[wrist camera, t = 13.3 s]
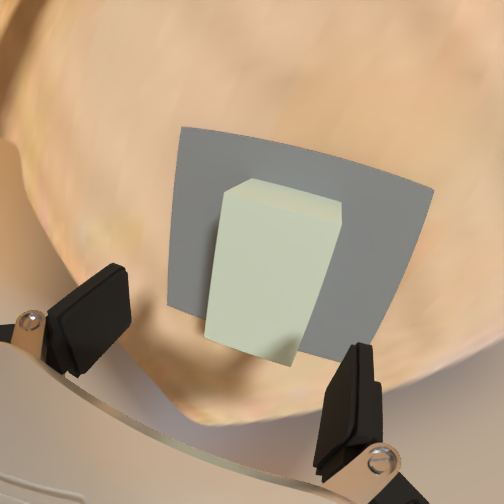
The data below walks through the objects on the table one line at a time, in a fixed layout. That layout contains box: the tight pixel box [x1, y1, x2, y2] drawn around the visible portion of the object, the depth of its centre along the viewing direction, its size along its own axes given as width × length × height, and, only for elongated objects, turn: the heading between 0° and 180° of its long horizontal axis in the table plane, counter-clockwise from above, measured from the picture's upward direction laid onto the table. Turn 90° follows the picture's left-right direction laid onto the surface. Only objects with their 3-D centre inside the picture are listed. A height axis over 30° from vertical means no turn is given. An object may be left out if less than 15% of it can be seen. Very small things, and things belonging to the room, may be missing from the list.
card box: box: [204, 178, 342, 367], centre depth 17 cm, size 9×6×4 cm, turn 169°
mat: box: [167, 127, 434, 362], centre depth 19 cm, size 16×14×1 cm
